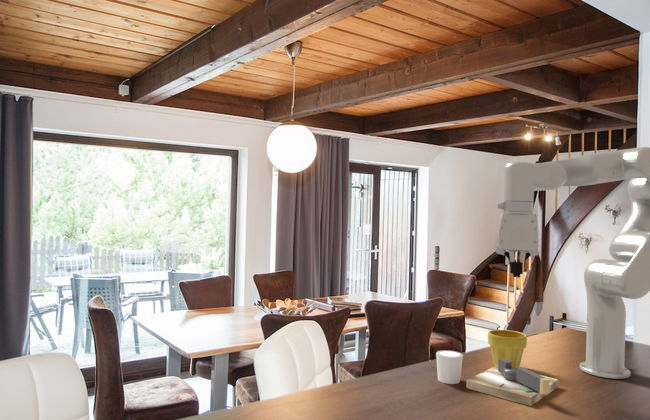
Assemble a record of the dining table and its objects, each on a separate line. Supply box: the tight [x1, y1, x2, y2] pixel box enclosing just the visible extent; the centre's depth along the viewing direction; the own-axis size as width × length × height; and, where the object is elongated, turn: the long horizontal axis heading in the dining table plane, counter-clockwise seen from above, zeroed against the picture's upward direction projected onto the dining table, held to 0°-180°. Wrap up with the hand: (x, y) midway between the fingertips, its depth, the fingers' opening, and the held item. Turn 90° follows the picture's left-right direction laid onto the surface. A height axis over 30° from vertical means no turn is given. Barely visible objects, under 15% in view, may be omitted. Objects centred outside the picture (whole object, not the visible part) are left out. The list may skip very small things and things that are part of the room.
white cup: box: [435, 349, 464, 385], centre depth 131 cm, size 7×7×7 cm
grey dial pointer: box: [498, 359, 550, 395], centre depth 124 cm, size 16×4×3 cm, turn 17°
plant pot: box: [487, 329, 528, 368], centre depth 143 cm, size 10×10×10 cm
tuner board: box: [466, 365, 559, 407], centre depth 127 cm, size 18×16×2 cm
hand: (516, 276), depth 135 cm, fingers closed
